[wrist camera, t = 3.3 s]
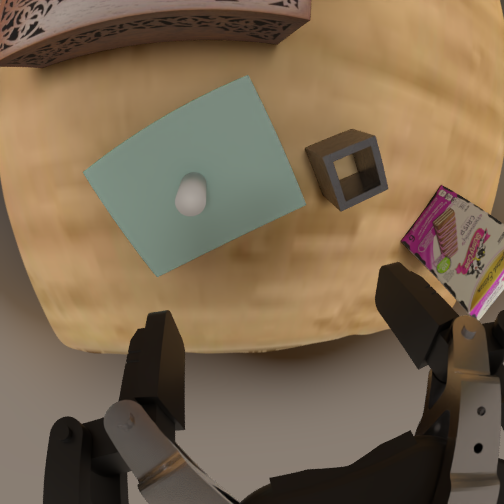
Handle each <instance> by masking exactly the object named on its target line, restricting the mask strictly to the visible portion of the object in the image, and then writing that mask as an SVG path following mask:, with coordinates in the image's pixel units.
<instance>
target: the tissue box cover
mask: <svg viewBox="0 0 504 504" xmlns="http://www.w3.org/2000/svg"><path fill="white" fill-rule="evenodd" d="M310 17H311V0H1V2H0V67H34V68H43V67H46V66H49V65H52V64H55V63H58V62H61V61H65V60H68V59H71V58H75V57H79V56H82V55H86V54H91V53H95V52H99V51H104V50H109V49H114V48H119V47H125V46H132V45H139V44H147V43H156V42H167V41H182V40H234V41H250V42H261V43H270V44H279V43H280V42H281V41H283V40H284V39H285V38H286V37H288V36H289V35H290V34H292V33H293V32H294V31H296V30H297V29H298V28H300V27H301V26H303V25H304V24H305V23H307V22H308V21H310Z"/></svg>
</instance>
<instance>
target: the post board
mask: <svg viewBox="0 0 504 504" xmlns="http://www.w3.org/2000/svg"><path fill="white" fill-rule="evenodd" d="M83 173H84V175H85V177H86V178H87V180H88V181H89V183H90V185H91V186H92V188H93V189H94V191H95V192H96V194H97V195H98V197H99V198H100V200H101V201H102V203H103V204H104V206H105V207H106V209H107V210H108V212H109V213H110V215H111V216H112V218H113V219H114V220H115V222H116V223H117V225H118V226H119V227H120V229H121V230H122V232H123V233H124V234H125V236H126V237H127V239H128V240H129V241H130V243H131V244H132V245H133V247H134V248H135V249H136V251H137V252H138V253H139V255H140V256H141V257H142V259H143V260H144V261H145V262H146V264H147V265H148V266H149V268H150V269H151V270H152V271H153V273H154V274H155V275H156V276H157V277H159V276H161V275H163V274H165V273H167V272H169V271H171V270H173V269H175V268H177V267H179V266H181V265H183V264H185V263H187V262H189V261H191V260H193V259H195V258H197V257H199V256H201V255H203V254H205V253H207V252H209V251H211V250H213V249H215V248H217V247H219V246H221V245H223V244H225V243H227V242H230V241H232V240H234V239H236V238H238V237H240V236H242V235H244V234H246V233H248V232H250V231H252V230H254V229H256V228H258V227H261V226H263V225H265V224H267V223H269V222H271V221H273V220H275V219H277V218H279V217H282V216H284V215H286V214H288V213H290V212H292V211H294V210H296V209H299V208H301V207H303V206H305V205H306V203H305V200H304V198H303V195H302V193H301V190H300V188H299V185H298V183H297V180H296V178H295V176H294V173H293V171H292V168H291V166H290V164H289V161H288V159H287V157H286V154H285V152H284V150H283V147H282V145H281V143H280V141H279V138H278V136H277V134H276V132H275V129H274V127H273V125H272V123H271V121H270V119H269V116H268V114H267V112H266V110H265V108H264V106H263V104H262V102H261V100H260V98H259V96H258V94H257V92H256V89H255V87H254V85H253V83H252V81H251V80H250V78H249V76H248V75H247V76H244V77H242V78H239V79H237V80H235V81H233V82H230V83H228V84H226V85H224V86H221V87H219V88H217V89H215V90H213V91H211V92H209V93H207V94H205V95H203V96H201V97H199V98H197V99H195V100H193V101H191V102H189V103H187V104H185V105H183V106H182V107H180V108H178V109H176V110H174V111H173V112H171V113H169V114H167V115H166V116H164V117H162V118H160V119H159V120H157V121H155V122H154V123H152V124H151V125H149V126H147V127H146V128H144V129H143V130H141V131H139V132H138V133H136V134H135V135H133V136H132V137H130V138H129V139H127V140H126V141H124V142H123V143H121V144H120V145H118V146H117V147H116V148H114V149H113V150H111V151H110V152H109V153H107V154H106V155H105V156H103V157H102V158H101V159H99V160H98V161H97V162H95V163H94V164H93V165H91V166H90V167H89V168H88V169H86V170H85V171H84V172H83Z"/></svg>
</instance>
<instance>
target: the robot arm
mask: <svg viewBox="0 0 504 504" xmlns="http://www.w3.org/2000/svg"><path fill="white" fill-rule="evenodd" d="M375 303H376V307H377V310H378V311H379V313H380V314H381V316H382V317H383V318H384V320H385V321H386V323H387V324H388V326H389V327H390V328H391V330H392V331H393V333H394V334H395V335H396V337H397V338H398V340H399V341H400V343H401V344H402V346H403V347H404V348H405V350H406V352H407V353H408V355H409V356H410V358H411V359H412V361H413V362H414V364H415V365H416V367H417V368H418V369H421V368H423V367H425V366H427V365H429V366H430V368H431V369H430V371H429V374H428V383H427V391H426V398H425V405H424V411H423V416H422V418H421V421H420V422H419V424H418V427H417V429H416V432H415V436H413V434H412V432H411V430H410V431H408V432H406V433H404V434H402V435H400V436H398V437H396V438H394V439H392V440H389V441H387V442H385V443H383V444H381V445H379V446H378V447H376V448H375V449H373V450H372V451H371V452H369V453H368V454H366V455H365V456H363V457H362V458H360V459H359V460H357V461H356V462H354V463H353V464H351V465H349V466H345V467H337V468H325V469H310V470H309V469H308V470H304V471H300V472H296V473H291V474H287V475H282V476H277V477H272V478H270V484H268V485H266V486H263V487H262V488H260V489H258V490H256V491H254V492H253V493H251V494H250V495H248V496H247V497H246V498H245V499H244V500H242V501H241V502H239V501H238V500H237V499H236V498H235V497H233V496H232V495H231V494H230V493H228V492H227V491H226V490H225V489H224V488H223V487H221V486H220V485H219V484H218V483H217V482H216V481H214V480H213V479H212V478H211V477H209V475H208V474H207V473H205V472H204V471H203V470H202V469H201V468H200V467H199V466H198V465H197V464H196V463H195V462H194V461H193V460H192V459H191V458H190V457H189V456H188V454H187V453H186V452H185V451H184V450H183V449H182V448H181V447H180V446H179V445H178V444H177V443H176V442H175V430H185V408H184V407H185V398H184V397H185V394H184V393H185V348H184V343H183V340H182V337H181V335H180V333H179V331H178V328H177V326H176V324H175V321H174V319H173V317H172V314H171V312H170V311H169V310H166V311H160V312H153V313H149V314H148V316H147V321H146V326H145V328H141V329H138V330H137V331H136V333H135V334H134V336H133V337H132V339H131V341H130V345H129V350H128V352H129V354H128V355H127V360H126V362H127V363H126V365H125V369H124V375H123V380H122V385H121V391H120V397H119V401H118V402H116V403H114V404H113V405H112V406H111V407H110V408H109V409H108V410H107V412H106V414H105V416H104V418H101V419H97V420H94V421H91V422H87V423H83V424H81V423H80V422H79V421H77V420H76V419H75V418H73V417H63V418H60V419H59V420H57V421H56V422H55V423H54V425H53V427H52V429H51V432H50V437H49V444H48V451H47V458H46V467H45V477H44V491H43V492H44V494H43V504H129V503H128V483H127V472H129V471H132V472H133V474H134V475H135V477H136V478H137V479H138V482H139V484H138V489H139V491H140V493H141V494H142V496H143V497H144V498H145V500H146V501H147V502H148V503H149V504H504V460H503V459H500V458H498V456H499V446H500V431H501V426H502V428H503V430H504V365H503V362H504V310H503V311H501V312H500V313H499V314H498V316H497V318H496V320H495V322H491V323H485V324H481V323H480V321H479V320H477V319H476V318H474V317H471V316H466V315H465V316H459V315H458V314H457V313H456V312H455V311H454V310H453V309H452V308H451V306H450V305H449V304H448V303H447V302H446V301H445V300H444V299H443V298H442V297H441V296H440V295H439V294H438V293H436V291H435V290H434V289H433V288H432V287H430V285H429V284H428V283H427V282H426V281H425V280H424V279H423V278H422V277H421V276H419V275H417V274H415V273H413V272H412V271H411V272H409V271H408V270H407V269H406V268H405V267H404V266H403V265H402V264H401V263H400V262H396V263H392V264H388V265H384V266H382V267H381V268H380V270H379V277H378V283H377V289H376V295H375Z"/></svg>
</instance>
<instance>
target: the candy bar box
mask: <svg viewBox="0 0 504 504" xmlns="http://www.w3.org/2000/svg"><path fill="white" fill-rule="evenodd" d="M401 242H402V243H403V244H404V245H405V246H406V247H407V248H408V250H409V251H410V252H411V253H412V254H413V255H414V256H415V257H416V258H417V259H418V260H419V261H420V262H421V263H422V264H423V265H424V266H425V267H426V268H427V269H428V270H429V271H430V272H431V273H432V274H433V275H434V276H435V277H436V278H437V279H438V280H439V281H440V282H441V283H442V284H443V286H444V287H445V288H446V289H447V290H448V291H449V292H450V293H451V294H452V296H453V297H454V298H455V299H456V300H457V301H458V302H459V304H460V305H461V306H462V307H463V308H464V309H465V310H466V312H467V313H468V314H469V315H470V316H471V317H474V318H476V319H477V320H479V319H480V318H481V317H482V316H483V315H484V314H485V312H486V311H487V310H488V309H489V307H490V306H491V305H492V304H493V302H494V301H495V300H496V299H497V297H498V296H499V295H500V293H501V292H502V291H503V289H504V224H502V223H501V222H500V221H498V220H497V219H495V218H494V217H493V216H491V215H490V214H488V213H487V212H485V211H483V210H482V209H481V208H479V207H478V206H476V205H474V204H473V203H471V202H470V201H468V200H466V199H465V198H463V197H462V196H460V195H458V194H456V193H455V192H453V191H452V190H450V189H448V188H446V187H444V186H442V185H441V187H440V188H439V190H438V191H437V193H436V194H435V196H434V197H433V198H432V200H431V201H430V203H429V204H428V206H427V207H426V208H425V210H424V211H423V213H422V214H421V215H420V217H419V218H418V220H417V221H416V222H415V224H414V225H413V226H412V228H411V229H410V230H409V232H408V233H407V234H406V235H405V237H404V238H403V239H402V241H401Z"/></svg>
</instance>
